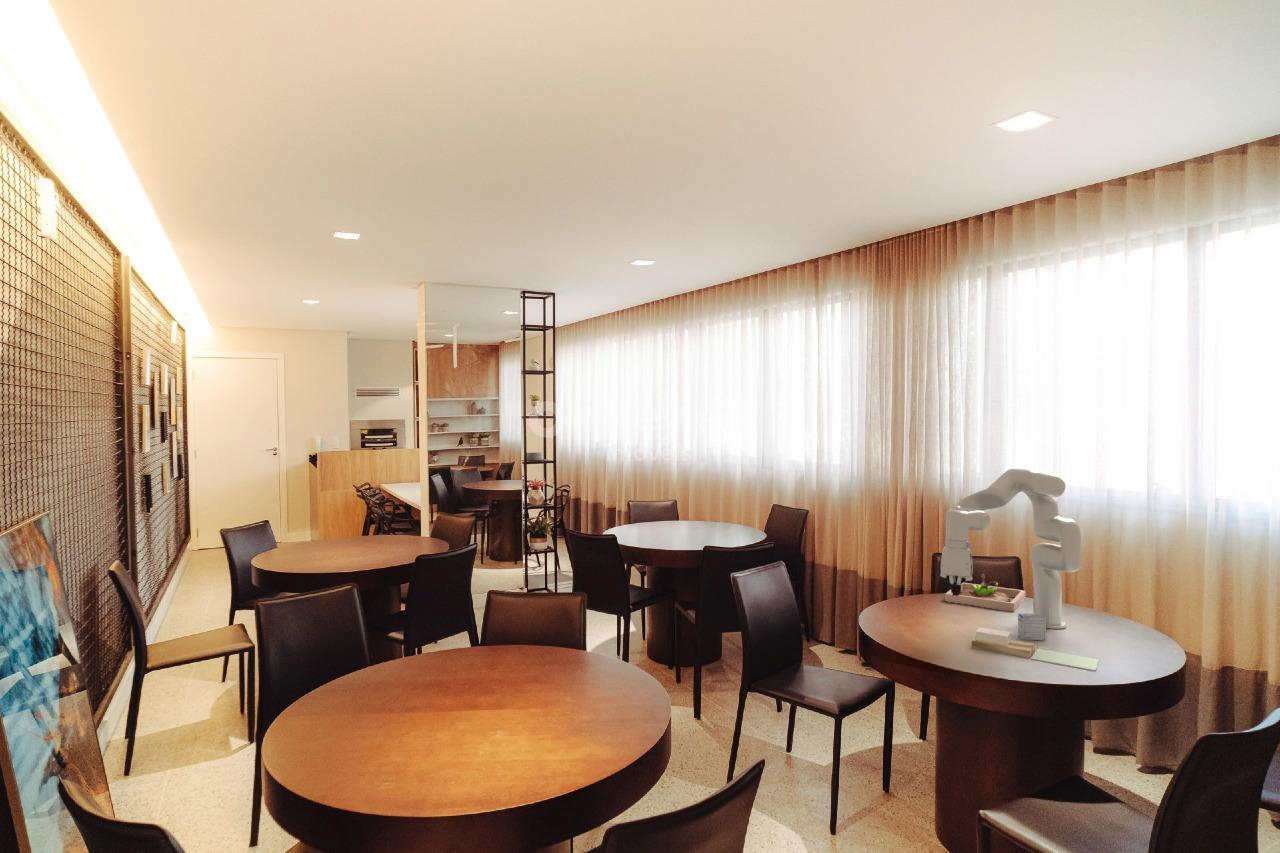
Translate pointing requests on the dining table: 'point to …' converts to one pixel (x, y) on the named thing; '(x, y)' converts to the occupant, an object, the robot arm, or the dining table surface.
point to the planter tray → (988, 603)
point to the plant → (986, 592)
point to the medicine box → (1031, 626)
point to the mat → (1065, 659)
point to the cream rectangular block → (993, 636)
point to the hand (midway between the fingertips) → (956, 594)
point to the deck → (1007, 647)
